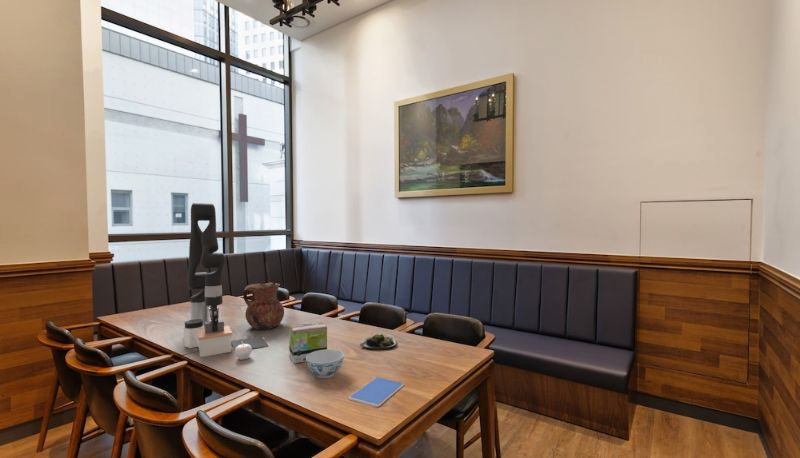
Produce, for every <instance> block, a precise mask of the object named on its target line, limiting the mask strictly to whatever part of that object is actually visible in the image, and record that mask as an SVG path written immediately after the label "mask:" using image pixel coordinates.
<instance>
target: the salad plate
mask: <svg viewBox="0 0 800 458" xmlns="http://www.w3.org/2000/svg"><path fill="white" fill-rule="evenodd" d="M396 346H397V341H396V338H394V337H392V336H384V334H382V333H381V334H379V333H377V334H374V335H373V336H371V337H366V338H364V339H363V341H362V342H361V343H360V344H359V347H362V348H364V349H365V350H368V351H385V350H387V351H388V350H392V349H394V348H395V347H396Z"/></svg>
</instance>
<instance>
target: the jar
mask: <svg viewBox="0 0 800 458" xmlns="http://www.w3.org/2000/svg"><path fill="white" fill-rule="evenodd" d="M200 329H204V325H203V320H201V319H194V320H191V319H189V320H186V321H184V327H183V347H185V348H189V349H191V348H197V347H198V348H199V339H198V334H197V330H200Z"/></svg>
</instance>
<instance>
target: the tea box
mask: <svg viewBox="0 0 800 458" xmlns="http://www.w3.org/2000/svg"><path fill="white" fill-rule="evenodd" d="M288 329H289V331H288V334H289V336H288V341H289V342H288V343H289V346H288V349H289V350H288V352H289V353H288V356H289V358H290V359H291V360H290V361H291V362H292V363H293V364H294V365H295V364H298V363H303V362H306V356H307V355H308V354H310V353H312V352H314V351H318V350H326V349H328V326H326V325H325V323H324V322H323V321H316V322H315V321H314V322H307V323H306V322H305V323H299V324H298V323H297V324H290V325H289V328H288Z"/></svg>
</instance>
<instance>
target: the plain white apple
mask: <svg viewBox="0 0 800 458" xmlns="http://www.w3.org/2000/svg"><path fill="white" fill-rule="evenodd" d="M241 342H242V341H241ZM252 351H253V349H252V347H251V346H250V345H249V344H244V343H243V342H242V345H239V346H237V347H236V348H235V350H234V353H235V356H236V358H237V360H241V361H243V360H247V359H249V358H250V357H251V354H252Z"/></svg>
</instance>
